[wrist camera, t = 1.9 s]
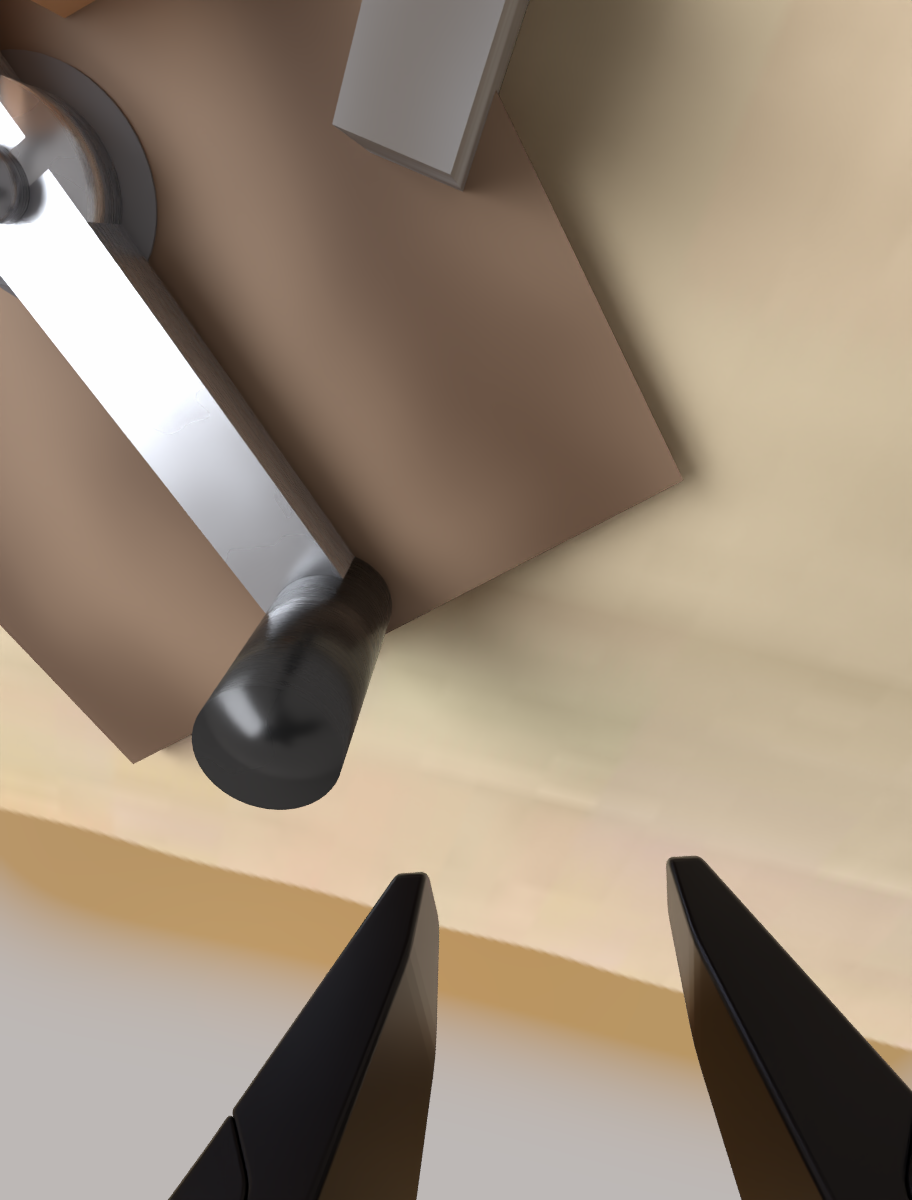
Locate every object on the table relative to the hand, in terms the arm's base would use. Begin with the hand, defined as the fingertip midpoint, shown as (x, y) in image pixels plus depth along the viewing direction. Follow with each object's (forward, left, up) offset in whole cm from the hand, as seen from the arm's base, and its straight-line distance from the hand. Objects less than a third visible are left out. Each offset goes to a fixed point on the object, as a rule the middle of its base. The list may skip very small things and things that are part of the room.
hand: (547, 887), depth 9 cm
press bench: (+3, -9, -11) cm, 14 cm away
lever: (+5, -9, -10) cm, 14 cm away
